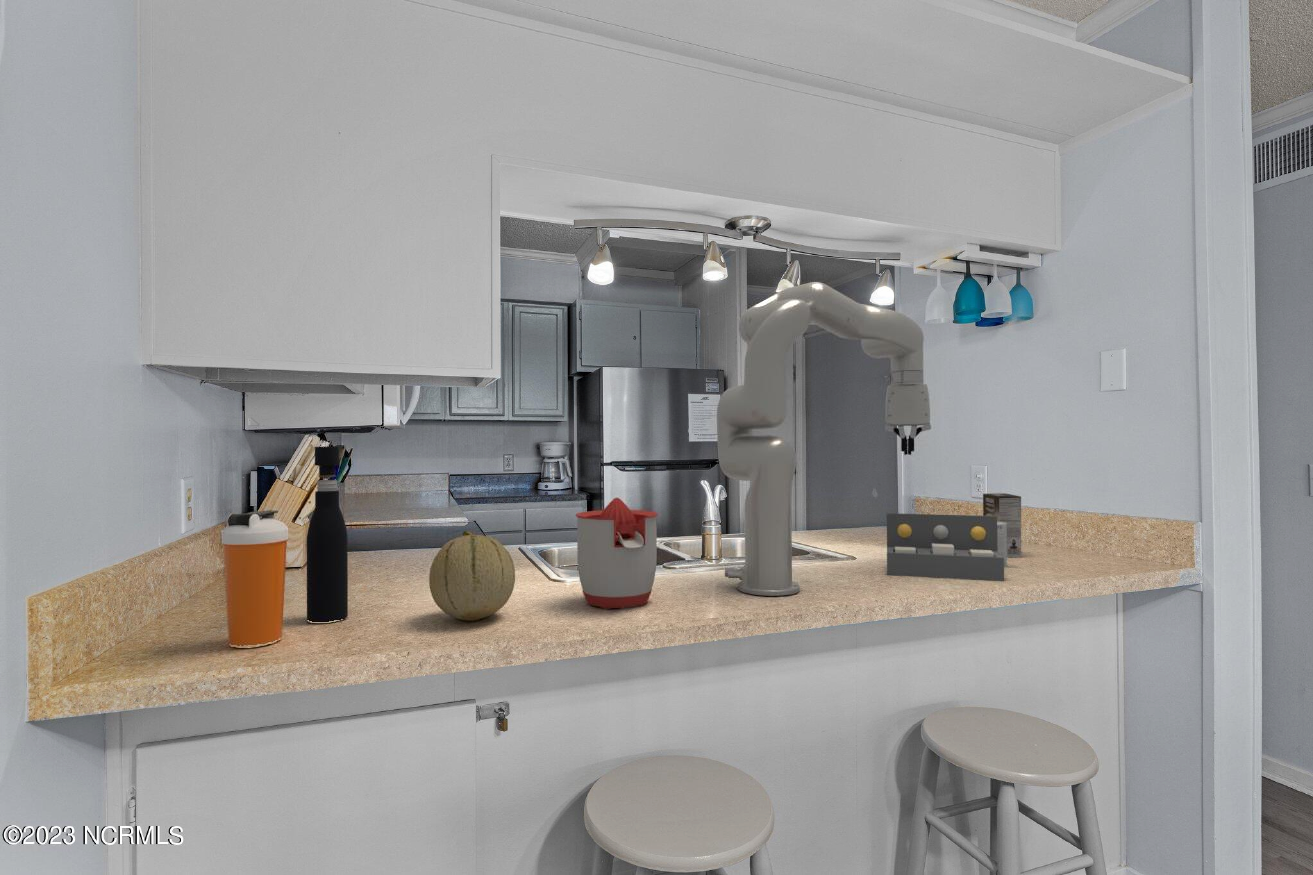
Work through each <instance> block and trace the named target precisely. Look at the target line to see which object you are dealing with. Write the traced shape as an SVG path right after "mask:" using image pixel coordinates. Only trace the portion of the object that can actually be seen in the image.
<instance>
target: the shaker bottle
mask: <svg viewBox="0 0 1313 875" xmlns="http://www.w3.org/2000/svg"><path fill="white" fill-rule="evenodd" d="M276 513H279V510H272V509H271V510H268V509H267V510H257V511H251V512H247V513H231V514H229V516H228V517H227V519H226V522H227V523H226V527H225V528H224V529H222V531H221V545H222V546H223V557H224V558H223V560H224V577H225V578H224V580H225V593H226V594H225V596H226V597H225V598H226V613H227V614H226V616H227V632H228V633H227V634H228V635H227V636H228V645H229V644H231V645H237V646H240V645H241V646H244V645H257V644H265V643H268V642H273V641H275V640H278V639H279V638H281V637H282V638H283V628H284V627H283V624H284V622H283V621H284V604H285V603H284V601H285V588H286V587H285V586H286V585H285V584H286V566H287V565H286V563H287V542H288V541H289V540H290V539H289V527H288V526H287V525H286V524H285V523H284V522H283V521H281V520H278V519H274V518H275V514H276Z"/></svg>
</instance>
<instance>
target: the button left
mask: <svg viewBox="0 0 1313 875" xmlns="http://www.w3.org/2000/svg"><path fill="white" fill-rule="evenodd" d="M895 553H916V549H915V547H895Z"/></svg>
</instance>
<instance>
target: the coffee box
mask: <svg viewBox="0 0 1313 875" xmlns="http://www.w3.org/2000/svg"><path fill="white" fill-rule="evenodd" d="M982 512H983V513H982V516H997V522H1003V523H1007V558H1022V496H1021V495H1017V494H1010V493H1001V492H1000V493H994V492H993V493H982Z"/></svg>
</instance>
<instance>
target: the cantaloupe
mask: <svg viewBox="0 0 1313 875" xmlns="http://www.w3.org/2000/svg"><path fill="white" fill-rule="evenodd" d="M462 535H463V536H459V537H455V538H453V539H451V540H449V541H447V542H446V543H444V545H443V546H442V547H441V548H440V550H438V552H437V554H436V555H435V556H434V558H433V560H432V563H431V566H430V568H429V574H428V577H429V579H428V582H429V584H428V585H429V590H430V593H431V597H432V599H433V601H434V602H435V604H436V605H437V607H438V608H439V609H440V610H441V611H442V612H444V613H445V614H446V615H448V616H449V617H452V618H455V619H458V620H462V621H469V622H476V621H478V620H481V619H484V618H487V617H490V616H492V615H494V614H496V613H497V612H499V610H501V609H502V608H503V607H504V606H505V605H506V604H507V603H508V601H509V600H510V598H511V596H512V594H513V591H514V588H515V583H516V569H515V564H514V559H513V558H512V555H511V554H510V552H509V551H508V550H507V548H506V547H505V546H504V545H503V544H502V543H501V542H500V541H498V539H494V538H492V537H490V536H486V535H481V534H473V533H472V532H471V531H468V530H464V531H462ZM475 620H476V621H475Z"/></svg>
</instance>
